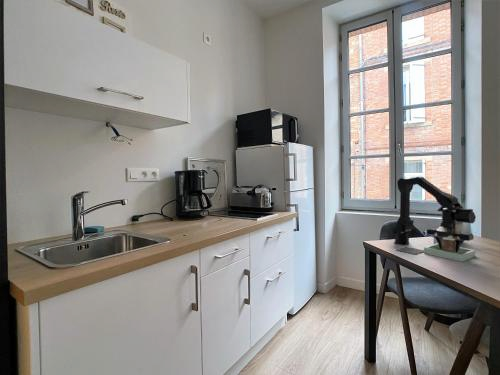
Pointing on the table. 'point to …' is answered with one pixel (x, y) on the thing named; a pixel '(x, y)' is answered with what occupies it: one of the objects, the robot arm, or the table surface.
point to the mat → (410, 250)
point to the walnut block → (449, 245)
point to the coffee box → (458, 228)
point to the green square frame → (450, 253)
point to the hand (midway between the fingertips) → (448, 250)
